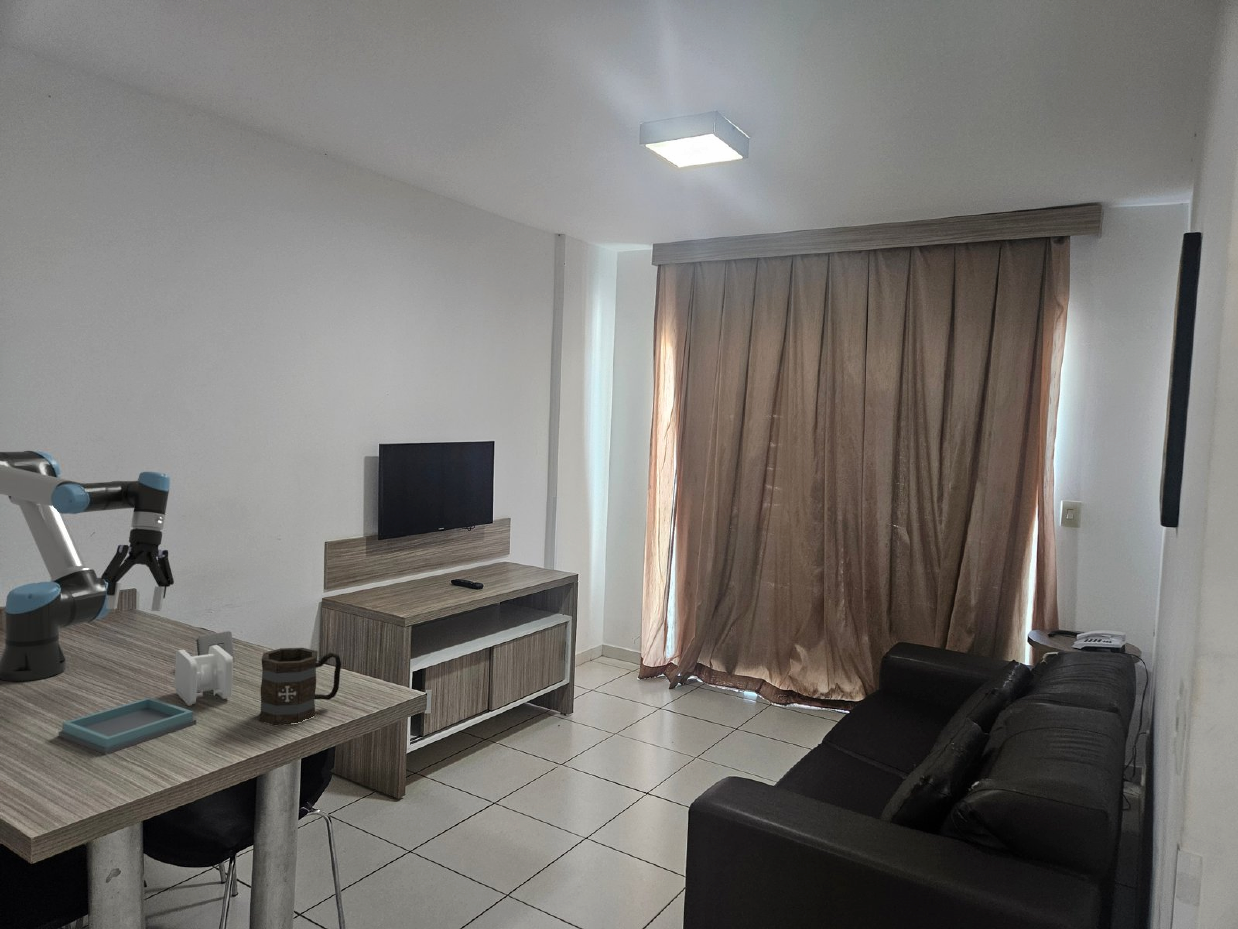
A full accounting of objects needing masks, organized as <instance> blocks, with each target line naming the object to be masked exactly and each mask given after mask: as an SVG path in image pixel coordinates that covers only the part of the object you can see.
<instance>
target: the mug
mask: <svg viewBox="0 0 1238 929" xmlns="http://www.w3.org/2000/svg"><path fill="white" fill-rule="evenodd" d="M318 652H319V651H318V650H314V649H310V648H306V647H284V648H283V647H280V648H276V649H274V650H273V649H272V650H270V651H266V652H263V653H262V657H261V668H262V670H261V671H262V672H261V683H260V684H261V685H260V711H259V712H260V713H259V720H258V721H259V722H261V723H264V722H266V723H265V724H267V723H269V724H268V725H270V724H272V725H271V726H274V725H278V726H285V725H284V724H291V723H298V722H302V721H303V720H305V719H309V718H311V717H313V716H314V715H315V716H316V705H315V704H316V703H315V702H316V701H315V700H327V701H329V700H331V699H333V698H335V697H336V695H337V693H338V692H339V688H340V679H341V678H340V677H341V676H340V675H341V669H342V660H341V657H340V655H339V654H337V653H333V652H328V653H327V654H324V656H322V658H320V660H318ZM331 658H334V659H335V667H334V673H333V686H332V688H331V692H330V693H328V694H320V693H319V694H316V689H317V670H316V669H317V668H321V667H322V666H324V665H325V664H326V663H327V661H328V660H330V659H331ZM317 660H318V661H317ZM302 723H303V722H302Z"/></svg>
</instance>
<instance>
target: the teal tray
mask: <svg viewBox="0 0 1238 929" xmlns="http://www.w3.org/2000/svg"><path fill="white" fill-rule="evenodd" d="M194 725H197V719H195V718H194V711H192V710H190V709H187V708H184V707H180V706H178V705H175V704H171V703H168V702H165V701H161V700H159V699H156V698H153V697H146V698H143V699H140V700H137V701H132V702H128V703H126V704H122V705H119V706H114V707H113V708H109V709H105V710H101V711H98V712H95V713H91V714H88V715H85V716H81V717H78V718H74V719H71V720H67V721H63V722H62V725H61V728H62V729H61V730H59V731H58V737H59V738H61V739H65V740H67V741H70V742H73V743H75V744H77V745H80V746H83V747H85V748H88V749H90V750H93V751H96V752H99V753H101V754H104V755H108V754H111V753H114V752H118V751H120V750H124V749H126V748H129V747H132V746H134V745H138V744H141V743H143V742H146V741H149V740H152V739H155V738H158V737H161V736H164V735H168V734H170V733H173V732H176V731H179V730H182V729H185V728H189V727H191V726H194Z"/></svg>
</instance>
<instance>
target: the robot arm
mask: <svg viewBox="0 0 1238 929" xmlns="http://www.w3.org/2000/svg"><path fill="white" fill-rule="evenodd" d="M60 474H61V470H60V467H59V464H58V462H57V460H56V459H54V458H53V457H52V455H50V454H48V453H46V452H43V451H34V450H24V451H23V450H22V451H0V495H4V496H8V499H9V502H10V503H11V504H14V505H17V506H19V508H20V510H21V512H22V514H23V515H22V516H23V517H24V519H25V522H26V524H27V526H28V529H29V531H30V533H31V535H32V537H33V541H34V542H35V545H36V546H37V549H38V551H39V553H40V556H41V558H42V561H43V563H44V565H45V568H46V570H47V572H48V574H49V577H50V581H39V582H31V583H27V584H23V585H20V586H17V587H15V588H13V589H11V590H10V591H9V592H8V594H7V595H6V600H5V606H4V611H5V634H4V635H5V636H4V638H5V641H4V642H5V646H4V649H3V650H2V654H1V657H0V680H1V681H7V682H24V681H26V682H27V681H36V680H42V679H48V678H50V676H51V677H54V676H53V675H55V674H57V675H60V674H62V673H63V672H62V671H64V672H65V671H66V670H65V669H67V660H66V657H65V655H64V652H63V649H62V646H61V644H60V629H63V628H66V627H71V626H76V625H81V624H84V623H91V622H93V621H95V620H96V621H97V620H100V619H102V618H104V617H106V616H107V615H108V614H109V613H110V612H111V610H117V609H118V604H119V603H118V602H119V597H120V591H121V590H120V589H121V585H122V584H121V583H120V582H119V581H121V579H122V578H123V577H124V576H125V575H126V574H127V573H129V571H130V570H131V569H132V567H133V566H135V565H141V566H142V565H143V566H145V567H147V568H148V569H149V571H150V573H151V575H152V577H153V578H154V581H155V583H156V584H157V586H154V589H153V590H154V591H153V596H152V604H151V609H150V610H151V612H162V609H163V602H164V599H165V598H166V592H167V587H168V588H169V587H171V586H172V585H174V584H175V580H174V577H173V573H172V569H171V564H170V561H169V550H167V549H159V546H160V545H161V544H162V538H163V532H162V530H163V529H164V525H165V518H166V510H167V505H168V498H169V492H170V490H171V489H170V484H171V482H170V481H171V478H170V476H169V475H168V474H166V473H162V472H157V471H142V472H140V473H139V474H138V475H139V476H138V478H137V480H114V481H106V482H90V483H89V482H87V483H86V482H83V483H82V482H78V481H77V482H76V481H73V480H69V479H64V478H61V477H60ZM123 509H133V510H132V511H133V512H132V518H131V523H130V526H131V530H130V531H129V537H128V542H129V544H118V546H117V549H116V552H115V554H114V555H113V557H112V559H111V561H110V562H109V563H108V565H107V567H106V568H105V570H104V571H103V573H102V574H101V576H100V577H98V576H97V574H96V571H95V569H94V568H91V567H88V566H86V564H85V563H84V562H85V561H84V560H83V558H82V555H81V552H80V551H79V548H78V546H77V545H76V542H75V540H74V538H73V534H72V533H71V531H70V528H69V527H68V524H67V522H66V519H65V517H64V515H67V514H70V515H76V514H80V513H81V514H82V513H90V512H91V513H92V512H101V511H112V510H123ZM63 514H64V515H63ZM127 555H128V556H127ZM118 582H119V583H118ZM61 672H62V673H61ZM55 676H56V675H55Z"/></svg>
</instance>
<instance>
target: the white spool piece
mask: <svg viewBox="0 0 1238 929" xmlns="http://www.w3.org/2000/svg"><path fill="white" fill-rule="evenodd" d="M232 658H233V657H231V656H230V655H229V654H228V653H227V652H226V651H224V650H223V649H222V648H221V647H219V646H218V645H213V646H210V647H209V650H208V654H207V655H200V656H198V655H194V656H192V655H190V654H189V653H188V652H187V651H186V650H185V649H179V650H176V652H175V668H174V689H175V692H176V694H177V695H178V696H179V697H180V698H181V699H182V700H183V701H184V702H185V704H186V705H187V706H188V707H190V706H193V705H194V704H196V702H197V698H198V697H203V695H204V694H203V692H207V691H213V696H214V698H215V695H218V696H219V697H220V698H221V699H223V700H227V699H228V698H231V697H232V693H233V669H234V668H233V666H234V662H233V660H232Z"/></svg>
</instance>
